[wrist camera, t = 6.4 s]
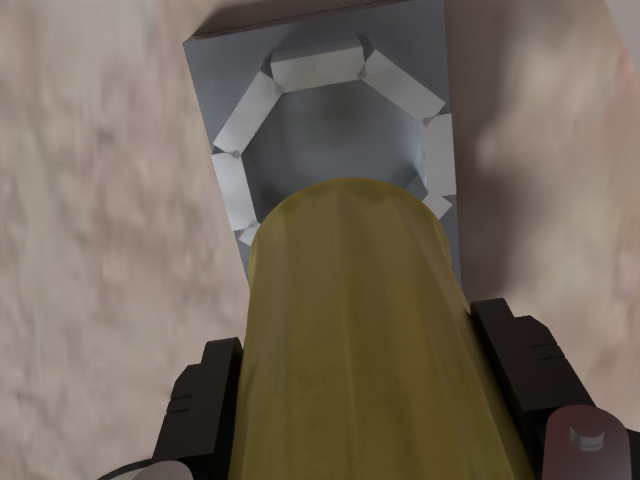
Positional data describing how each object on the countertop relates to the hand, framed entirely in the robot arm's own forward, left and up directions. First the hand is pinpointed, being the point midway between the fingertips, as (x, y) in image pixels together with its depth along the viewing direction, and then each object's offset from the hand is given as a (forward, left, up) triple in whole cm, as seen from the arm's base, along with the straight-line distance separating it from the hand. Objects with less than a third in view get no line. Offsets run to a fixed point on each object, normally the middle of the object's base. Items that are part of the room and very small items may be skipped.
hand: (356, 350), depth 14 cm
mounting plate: (+4, 0, -16) cm, 17 cm away
